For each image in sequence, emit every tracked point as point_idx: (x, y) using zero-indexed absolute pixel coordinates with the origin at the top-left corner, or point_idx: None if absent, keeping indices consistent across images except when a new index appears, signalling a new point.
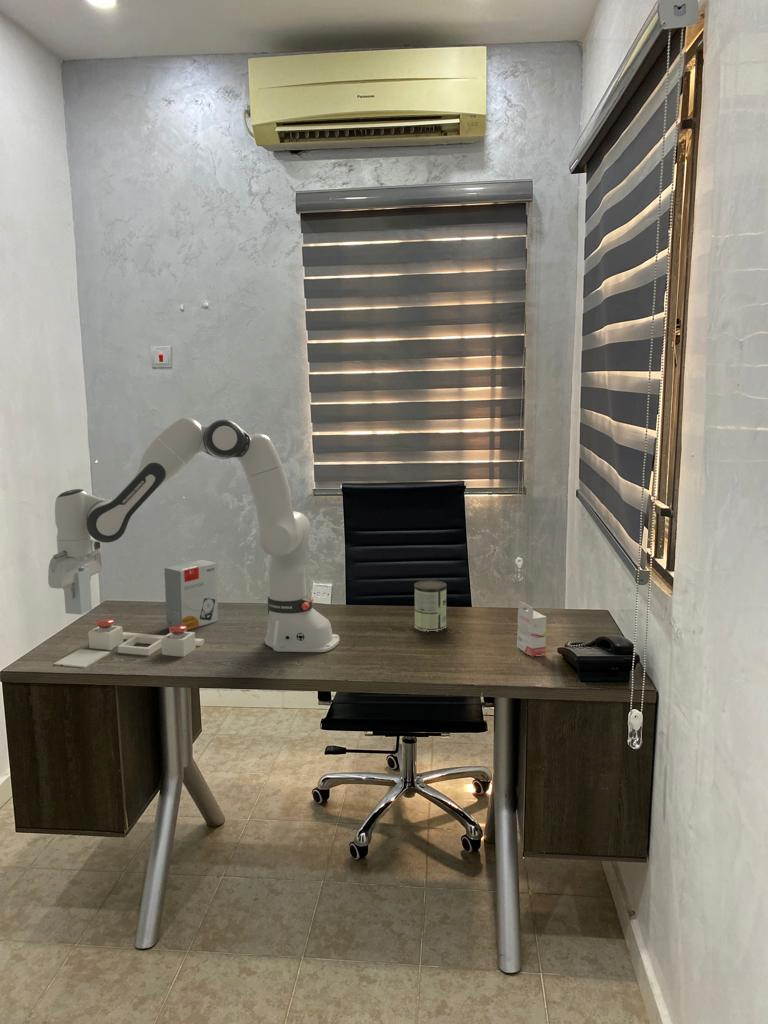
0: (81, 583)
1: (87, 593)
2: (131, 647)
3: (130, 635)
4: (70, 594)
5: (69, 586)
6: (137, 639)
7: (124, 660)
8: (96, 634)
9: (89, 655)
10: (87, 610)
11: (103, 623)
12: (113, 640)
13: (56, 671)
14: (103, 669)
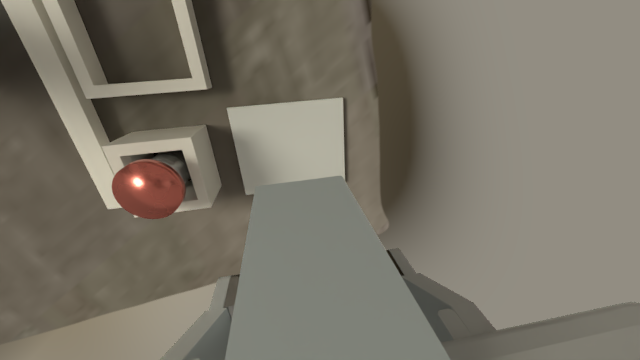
0: (378, 309)
1: (285, 239)
2: (192, 31)
3: (92, 127)
4: (410, 273)
5: (478, 319)
6: (100, 84)
7: (255, 20)
8: (205, 179)
9: (273, 142)
10: (293, 183)
11: (174, 177)
12: (178, 131)
13: (376, 147)
14: (337, 38)
